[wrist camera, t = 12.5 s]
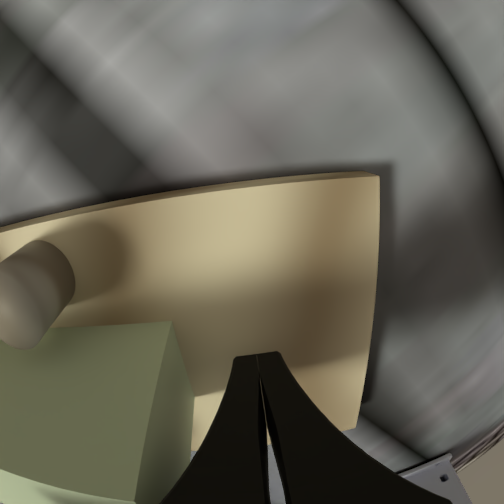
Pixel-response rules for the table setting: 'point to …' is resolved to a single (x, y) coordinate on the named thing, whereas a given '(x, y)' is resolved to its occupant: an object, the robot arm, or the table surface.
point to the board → (214, 279)
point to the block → (94, 416)
